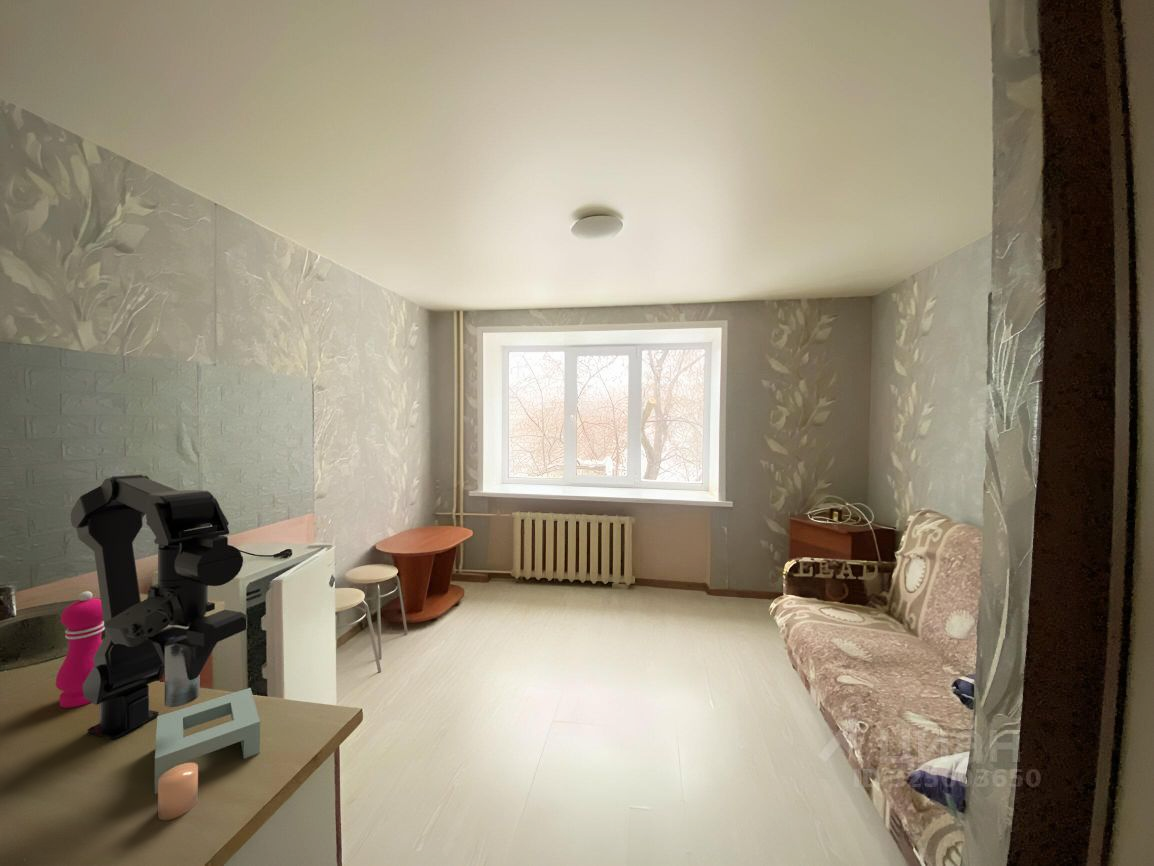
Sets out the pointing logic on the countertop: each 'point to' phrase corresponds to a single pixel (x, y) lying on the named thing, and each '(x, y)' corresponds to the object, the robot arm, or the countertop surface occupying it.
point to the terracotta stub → (177, 791)
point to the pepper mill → (79, 647)
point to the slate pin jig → (182, 749)
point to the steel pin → (178, 676)
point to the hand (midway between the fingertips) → (183, 676)
